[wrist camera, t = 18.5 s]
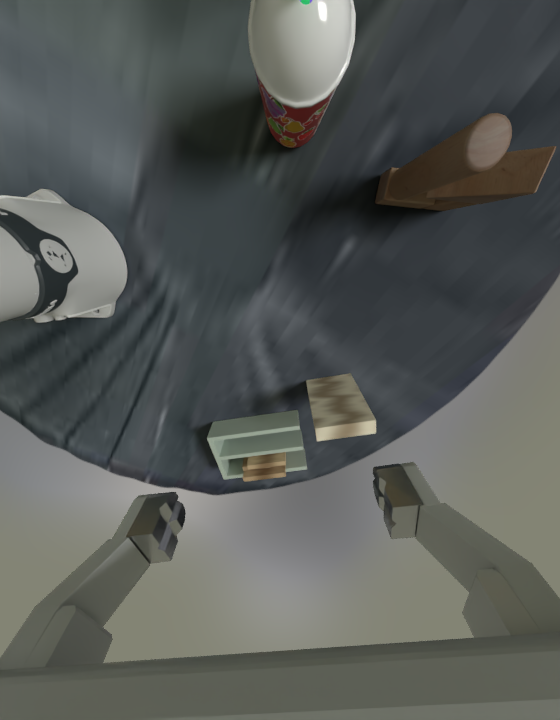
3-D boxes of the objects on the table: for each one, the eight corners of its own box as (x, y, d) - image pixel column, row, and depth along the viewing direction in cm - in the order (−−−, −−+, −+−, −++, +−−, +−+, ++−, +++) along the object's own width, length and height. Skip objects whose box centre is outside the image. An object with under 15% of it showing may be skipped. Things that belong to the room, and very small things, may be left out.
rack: (228, 461, 58) (223, 479, 54) (212, 421, 53) (206, 438, 48) (304, 451, 57) (306, 469, 52) (297, 409, 52) (299, 425, 47)
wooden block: (444, 211, 35) (582, 184, 19) (373, 204, 35) (454, 170, 19) (454, 181, 34) (613, 124, 18) (380, 173, 33) (474, 107, 17)
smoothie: (338, 101, 30) (423, -107, 12) (302, 172, 33) (329, 89, 15) (281, 53, 28) (284, -276, 10) (249, 133, 32) (209, -14, 14)
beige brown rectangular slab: (307, 390, 49) (317, 441, 37) (305, 380, 48) (315, 428, 36) (351, 384, 49) (375, 433, 36) (350, 373, 48) (375, 420, 35)
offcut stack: (248, 453, 57) (244, 481, 50) (244, 441, 55) (239, 468, 49) (287, 448, 57) (288, 476, 50) (284, 435, 55) (285, 462, 48)
